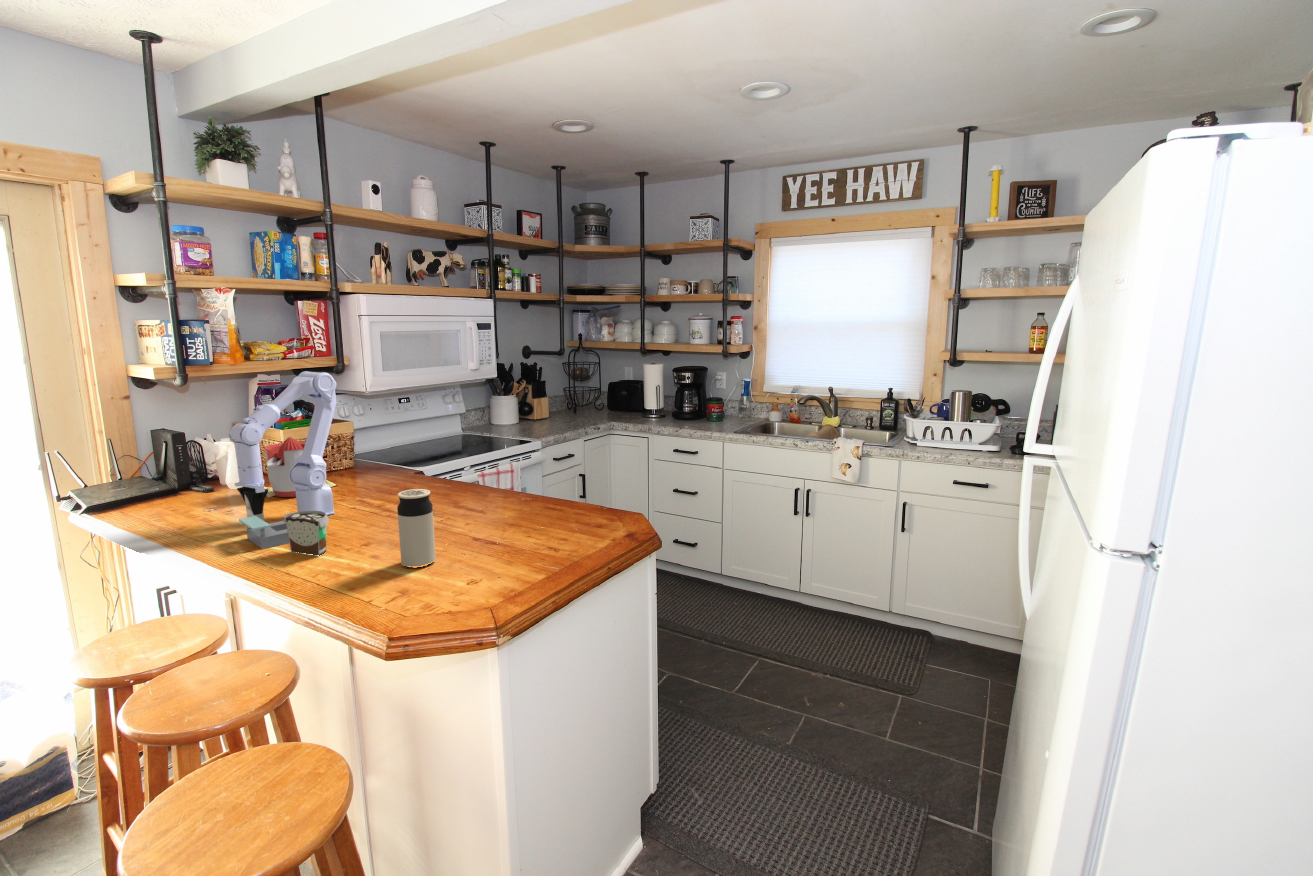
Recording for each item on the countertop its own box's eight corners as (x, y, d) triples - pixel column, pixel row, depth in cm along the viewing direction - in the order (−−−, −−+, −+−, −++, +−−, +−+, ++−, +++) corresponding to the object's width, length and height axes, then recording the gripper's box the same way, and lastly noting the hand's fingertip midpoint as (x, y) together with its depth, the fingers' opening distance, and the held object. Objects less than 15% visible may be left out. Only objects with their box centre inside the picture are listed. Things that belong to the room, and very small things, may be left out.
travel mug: (415, 571, 152) (410, 498, 148) (394, 564, 156) (389, 494, 153) (442, 561, 158) (438, 491, 155) (421, 555, 162) (417, 486, 159)
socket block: (295, 528, 183) (293, 508, 182) (311, 538, 175) (309, 517, 174) (241, 540, 173) (238, 518, 172) (255, 550, 165) (253, 528, 164)
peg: (261, 517, 183) (258, 490, 182) (266, 520, 181) (263, 493, 179) (245, 520, 180) (242, 493, 179) (250, 523, 178) (246, 496, 176)
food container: (342, 549, 166) (339, 512, 164) (323, 557, 161) (320, 519, 159) (306, 544, 170) (303, 508, 168) (286, 551, 164) (282, 514, 163)
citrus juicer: (253, 500, 211) (247, 441, 208) (291, 487, 228) (286, 432, 225) (295, 502, 209) (289, 442, 205) (330, 489, 226) (325, 433, 222)
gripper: (225, 464, 179) (231, 510, 182) (241, 472, 170) (247, 521, 172) (253, 460, 184) (259, 505, 187) (270, 468, 175) (276, 515, 177)
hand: (255, 512), depth 180 cm, fingers closed on peg, 4 cm apart
